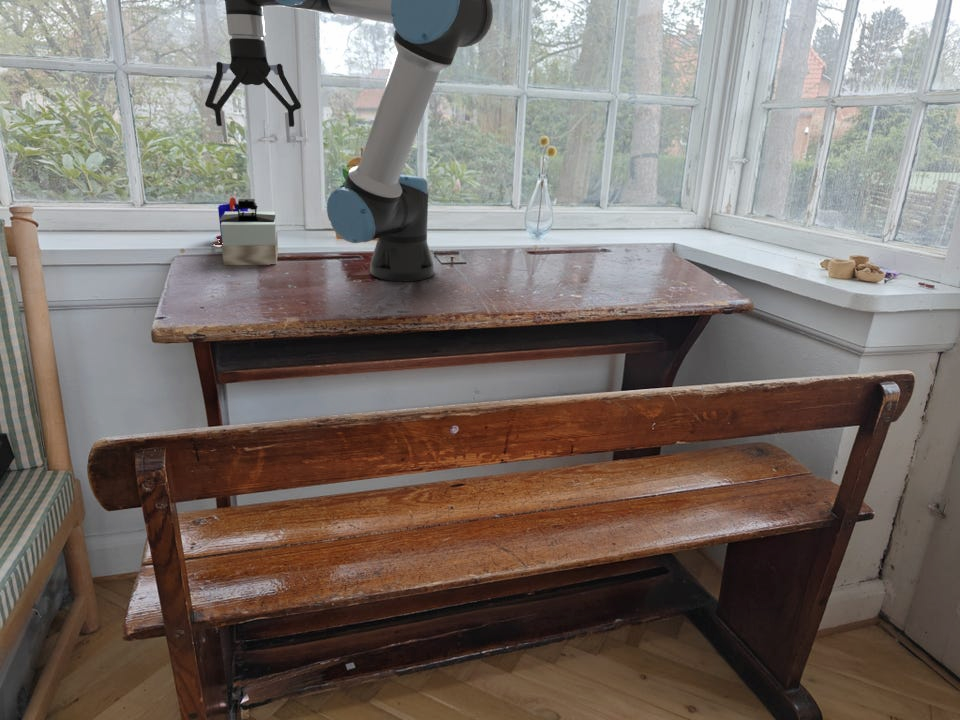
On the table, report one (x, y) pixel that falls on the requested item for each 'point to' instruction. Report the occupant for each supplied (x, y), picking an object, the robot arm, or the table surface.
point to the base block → (250, 254)
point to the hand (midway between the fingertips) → (257, 142)
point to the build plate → (247, 216)
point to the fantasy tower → (227, 208)
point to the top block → (248, 232)
